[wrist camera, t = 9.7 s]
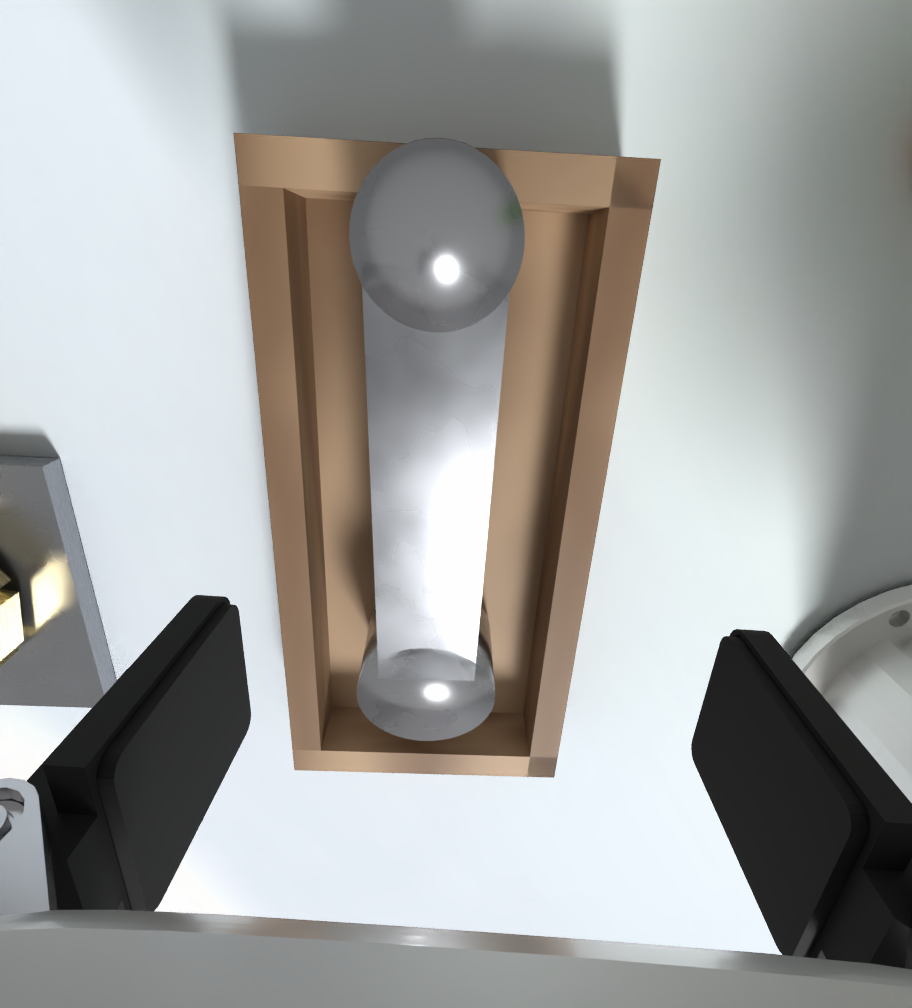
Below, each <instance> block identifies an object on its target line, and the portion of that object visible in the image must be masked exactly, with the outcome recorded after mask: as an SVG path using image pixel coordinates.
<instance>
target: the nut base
mask: <svg viewBox="0 0 912 1008" xmlns="http://www.w3.org/2000/svg"><path fill="white" fill-rule="evenodd" d="M0 570H1V571H2V572H3V573H5V574H6V575H7V576H8V577H9V578H10V579H11V580H10V581H9V582H8V583H6V584H5V585H4V586H2V587H1V588H0V589H4V590H10V591H16V592H19V599H20V608H21V618H22V627H23V636H24V641H23V642H21V643H20V644H19V645H18V646H17V648H18V649H19V650H18V651H17V652H16V653H15V654H14V655H13V656H12V657H10V658H9V659H8V660H7V661H6V662H5V663H4V664H3V665H2V666H0V705H25V706H57V707H88V708H93V707H94V706H95V704H96V703H97V702H98V701H99V700H100V699H101V698H102V697H103V696H104V694H105V693H106V692H107V691H108V690H109V689H110V688H111V687H112V686H113V684H114V683H115V682H116V677H115V673H114V669H113V665H112V661H111V658H110V654H109V650H108V646H107V642H106V638H105V634H104V630H103V626H102V622H101V618H100V614H99V611H98V607H97V603H96V599H95V595H94V591H93V587H92V583H91V579H90V575H89V571H88V567H87V564H86V560H85V556H84V552H83V548H82V544H81V540H80V536H79V532H78V528H77V524H76V520H75V517H74V513H73V509H72V505H71V501H70V497H69V493H68V489H67V485H66V481H65V477H64V473H63V470H62V466H61V462H60V458H41V457H18V456H0Z"/></svg>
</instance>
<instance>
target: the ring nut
mask: <svg viewBox="0 0 912 1008" xmlns="http://www.w3.org/2000/svg"><path fill="white" fill-rule="evenodd" d="M10 580H11V579H10V578H9V577H8V576H7V575H6V574H5V573H3V572H2V571H1V570H0V588H1V587H2V586H4V585H5V584H6V583H8V582H9V581H10ZM23 641H24V636H23V627H22V618H21V608H20V599H19V592H16V591H10V590H4V589H0V666H2V665H3V664H4V663H5V662H6V661H7V660H8V659H9V658H10V657H12V656H13V655H14V654H15V653H16V652H17V651H18V650H19V649H18V648H17V646H18V645H19V644H20V643H21V642H23Z"/></svg>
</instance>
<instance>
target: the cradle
mask: <svg viewBox="0 0 912 1008" xmlns="http://www.w3.org/2000/svg"><path fill="white" fill-rule="evenodd" d="M234 142H235V152H236V163H237V173H238V184H239V194H240V205H241V215H242V226H243V236H244V247H245V257H246V267H247V278H248V288H249V299H250V309H251V320H252V330H253V341H254V351H255V362H256V372H257V383H258V393H259V403H260V414H261V424H262V435H263V445H264V456H265V466H266V477H267V487H268V498H269V508H270V519H271V529H272V540H273V550H274V560H275V571H276V581H277V592H278V602H279V613H280V623H281V634H282V644H283V655H284V665H285V676H286V686H287V697H288V707H289V717H290V728H291V738H292V749H293V759H294V770H313V771H348V772H382V773H417V774H452V775H486V776H521V777H554V775H555V769H556V763H557V757H558V752H559V746H560V740H561V734H562V728H563V723H564V717H565V711H566V705H567V700H568V694H569V688H570V682H571V676H572V671H573V665H574V659H575V653H576V647H577V642H578V636H579V630H580V624H581V619H582V613H583V607H584V601H585V595H586V590H587V584H588V578H589V572H590V566H591V561H592V555H593V549H594V543H595V537H596V532H597V526H598V520H599V514H600V509H601V503H602V497H603V491H604V485H605V480H606V474H607V468H608V462H609V456H610V451H611V445H612V439H613V433H614V428H615V422H616V416H617V410H618V404H619V399H620V393H621V387H622V381H623V375H624V370H625V364H626V358H627V352H628V347H629V341H630V335H631V329H632V323H633V318H634V312H635V306H636V300H637V294H638V289H639V283H640V277H641V271H642V266H643V260H644V254H645V248H646V242H647V237H648V231H649V225H650V219H651V213H652V208H653V202H654V196H655V190H656V184H657V179H658V173H659V167H660V161H661V159H650V158H634V157H617V156H601V155H585V154H569V153H552V152H536V151H520V150H504V149H487V148H475V149H477V150H479V151H480V152H482V153H483V154H485V155H486V156H487V157H488V158H490V159H491V160H492V161H493V162H494V163H495V164H496V165H497V166H498V167H499V168H500V169H501V171H502V172H503V173H504V174H505V176H506V177H507V179H508V180H509V182H510V183H511V185H512V187H513V189H514V191H515V193H516V195H517V198H518V201H519V204H520V207H521V210H522V215H523V220H524V229H525V247H524V254H523V260H522V264H521V267H520V271H519V273H518V276H517V278H516V281H515V283H514V285H513V286H512V288H511V290H510V292H509V303H508V314H507V325H506V336H505V347H504V358H503V369H502V380H501V391H500V402H499V413H498V424H497V435H496V446H495V457H494V468H493V479H492V490H491V501H490V512H489V523H488V534H487V545H486V556H485V567H484V578H483V589H482V600H481V606H482V608H483V609H484V611H485V612H486V614H487V617H488V619H489V624H490V633H491V646H492V659H493V672H494V685H495V702H494V706H493V708H492V711H491V712H490V714H489V715H488V717H487V718H486V719H485V720H484V721H483V722H482V723H481V724H480V725H479V726H477V727H476V728H474V729H473V730H471V731H469V732H467V733H465V734H462V735H460V736H457V737H453V738H450V739H444V740H436V741H419V740H411V739H406V738H402V737H398V736H395V735H392V734H390V733H388V732H386V731H384V730H382V729H380V728H378V727H377V726H376V725H374V724H373V723H372V722H371V721H370V720H369V719H368V718H367V717H366V716H365V715H364V714H363V712H362V710H361V709H360V706H359V704H358V700H357V686H358V681H359V675H360V670H361V665H362V659H363V654H364V649H365V644H366V638H367V633H368V628H369V623H370V618H371V615H372V613H373V611H374V609H375V608H376V604H375V580H374V556H373V532H372V508H371V484H370V461H369V437H368V413H367V389H366V365H365V342H364V318H363V294H362V283H361V281H360V279H359V277H358V275H357V273H356V270H355V267H354V264H353V260H352V256H351V251H350V242H349V225H350V217H351V211H352V207H353V204H354V200H355V198H356V195H357V193H358V190H359V188H360V186H361V184H362V183H363V181H364V179H365V177H366V176H367V175H368V173H369V172H370V171H371V169H372V168H373V167H374V166H375V165H376V164H377V163H378V162H379V161H380V160H381V159H382V158H383V157H384V156H386V155H387V154H388V153H390V152H391V151H393V150H394V149H396V148H398V147H400V146H402V145H404V144H406V143H390V142H374V141H357V140H341V139H325V138H309V137H292V136H276V135H260V134H244V133H234Z"/></svg>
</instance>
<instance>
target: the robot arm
mask: <svg viewBox="0 0 912 1008" xmlns="http://www.w3.org/2000/svg"><path fill="white" fill-rule="evenodd" d="M250 719H251V709H250V701H249V692H248V684H247V676H246V667H245V659H244V651H243V642H242V634H241V626H240V617H239V611H238V608H237V606H236V605H230V601H229V600H228V598H226V597H220V596H204V595H196V596H194V597H192V598H191V599H190V600H189V602H188V603H187V604H186V605H185V606H184V607H183V608H182V609H181V610H180V612H179V613H178V614H177V615H176V616H175V617H174V618H173V619H172V621H171V622H170V623H169V624H168V625H167V626H166V627H165V628H164V629H163V631H162V632H161V633H160V634H159V635H158V636H157V637H156V638H155V640H154V641H153V642H152V643H151V644H150V645H149V646H148V647H147V648H146V650H145V651H144V652H143V653H142V654H141V655H140V656H139V657H138V658H137V660H136V661H135V662H134V663H133V664H132V665H131V666H130V667H129V668H128V669H127V670H126V671H125V672H124V673H123V674H122V676H121V677H120V678H119V679H118V680H117V681H116V682H115V683H114V684H113V686H112V687H111V688H110V689H109V690H108V691H107V692H106V693H105V694H104V696H103V697H102V698H101V699H100V700H99V701H98V702H97V703H96V704H95V706H94V707H93V708H92V709H91V710H90V711H89V712H88V713H87V715H86V716H85V717H84V718H83V719H82V720H81V721H80V722H79V723H78V725H77V726H76V727H75V728H74V729H73V730H72V731H71V732H70V733H69V735H68V736H67V737H66V738H65V739H64V740H63V741H62V742H61V743H60V745H59V746H58V747H57V748H56V749H55V750H54V751H53V752H52V753H51V755H50V756H49V757H48V758H47V759H46V760H45V761H44V762H43V763H42V765H41V766H40V767H39V768H38V769H37V770H36V771H35V772H34V774H33V775H32V776H31V777H30V778H29V779H28V780H27V781H25V780H20V779H13V778H6V779H0V1008H912V585H908V586H904V587H900V588H897V589H893V590H889V591H886V592H884V593H882V594H879V595H877V596H874V597H872V598H870V599H867V600H865V601H862V602H860V603H858V604H857V605H855V606H853V607H852V608H850V609H848V610H846V611H845V612H843V613H841V614H840V615H838V616H836V617H835V618H833V619H832V620H831V621H830V622H828V623H827V624H826V625H824V626H823V627H822V628H821V629H819V630H818V631H817V632H815V633H814V634H813V635H812V636H811V637H810V638H809V639H808V641H807V642H806V643H805V644H804V645H803V646H802V647H801V648H800V649H799V650H798V651H797V652H796V654H795V655H794V657H793V658H792V659H791V657H790V656H789V655H788V654H787V652H786V651H785V650H784V649H783V648H782V646H781V645H780V644H779V643H778V642H777V640H776V639H775V638H774V637H773V636H772V635H771V634H770V633H769V632H766V631H756V630H740V629H736V630H733V631H732V633H731V634H730V636H725V637H723V638H722V640H721V642H720V645H719V649H718V652H717V656H716V659H715V663H714V666H713V670H712V673H711V677H710V680H709V684H708V687H707V691H706V694H705V698H704V701H703V705H702V708H701V712H700V715H699V719H698V722H697V726H696V729H695V733H694V736H693V740H692V748H691V749H692V757H693V761H694V763H695V766H696V768H697V770H698V772H699V774H700V777H701V779H702V781H703V783H704V786H705V788H706V790H707V792H708V794H709V797H710V799H711V801H712V803H713V806H714V808H715V810H716V812H717V814H718V817H719V819H720V821H721V823H722V826H723V828H724V830H725V832H726V835H727V837H728V839H729V841H730V843H731V846H732V848H733V850H734V852H735V855H736V857H737V859H738V861H739V863H740V866H741V868H742V870H743V872H744V875H745V877H746V879H747V881H748V883H749V886H750V888H751V890H752V892H753V895H754V897H755V899H756V901H757V903H758V906H759V908H760V910H761V912H762V915H763V917H764V919H765V921H766V923H767V926H768V928H769V930H770V932H771V935H772V937H773V939H774V941H775V943H776V945H777V947H778V949H779V951H780V952H781V953H782V955H776V954H765V953H753V952H740V951H727V950H714V949H702V948H689V947H676V946H663V945H650V944H637V943H624V942H611V941H598V940H585V939H571V938H557V937H543V936H529V935H516V934H502V933H488V932H474V931H459V930H445V929H431V928H417V927H403V926H388V925H373V924H358V923H343V922H327V921H312V920H297V919H281V918H266V917H251V916H235V915H219V914H198V913H176V912H154V911H155V909H156V908H157V907H158V906H159V904H160V902H161V900H162V899H163V897H164V895H165V893H166V891H167V889H168V887H169V885H170V883H171V881H172V879H173V877H174V875H175V873H176V871H177V869H178V867H179V865H180V863H181V861H182V859H183V857H184V855H185V853H186V851H187V849H188V847H189V845H190V843H191V842H192V840H193V838H194V836H195V834H196V832H197V830H198V828H199V826H200V824H201V822H202V820H203V818H204V816H205V814H206V812H207V810H208V808H209V806H210V804H211V802H212V800H213V798H214V796H215V794H216V792H217V790H218V788H219V786H220V784H221V782H222V781H223V779H224V777H225V775H226V773H227V771H228V769H229V767H230V765H231V763H232V761H233V759H234V757H235V755H236V753H237V751H238V749H239V747H240V745H241V743H242V741H243V739H244V737H245V735H246V733H247V731H248V728H249V725H250Z"/></svg>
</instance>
